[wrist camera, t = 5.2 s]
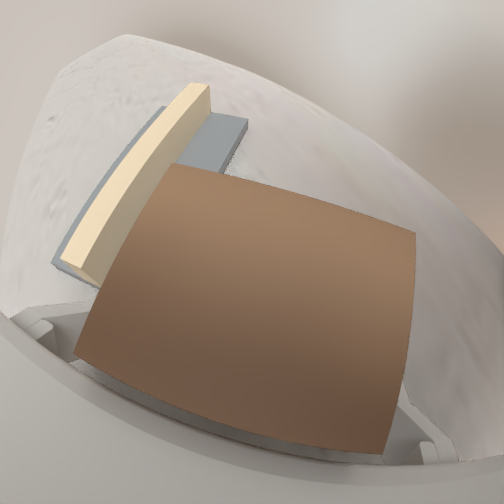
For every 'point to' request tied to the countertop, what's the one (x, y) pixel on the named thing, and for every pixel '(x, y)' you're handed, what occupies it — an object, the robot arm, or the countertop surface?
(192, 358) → the walnut block
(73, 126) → the countertop surface
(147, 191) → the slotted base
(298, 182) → the countertop surface
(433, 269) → the countertop surface
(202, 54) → the countertop surface
